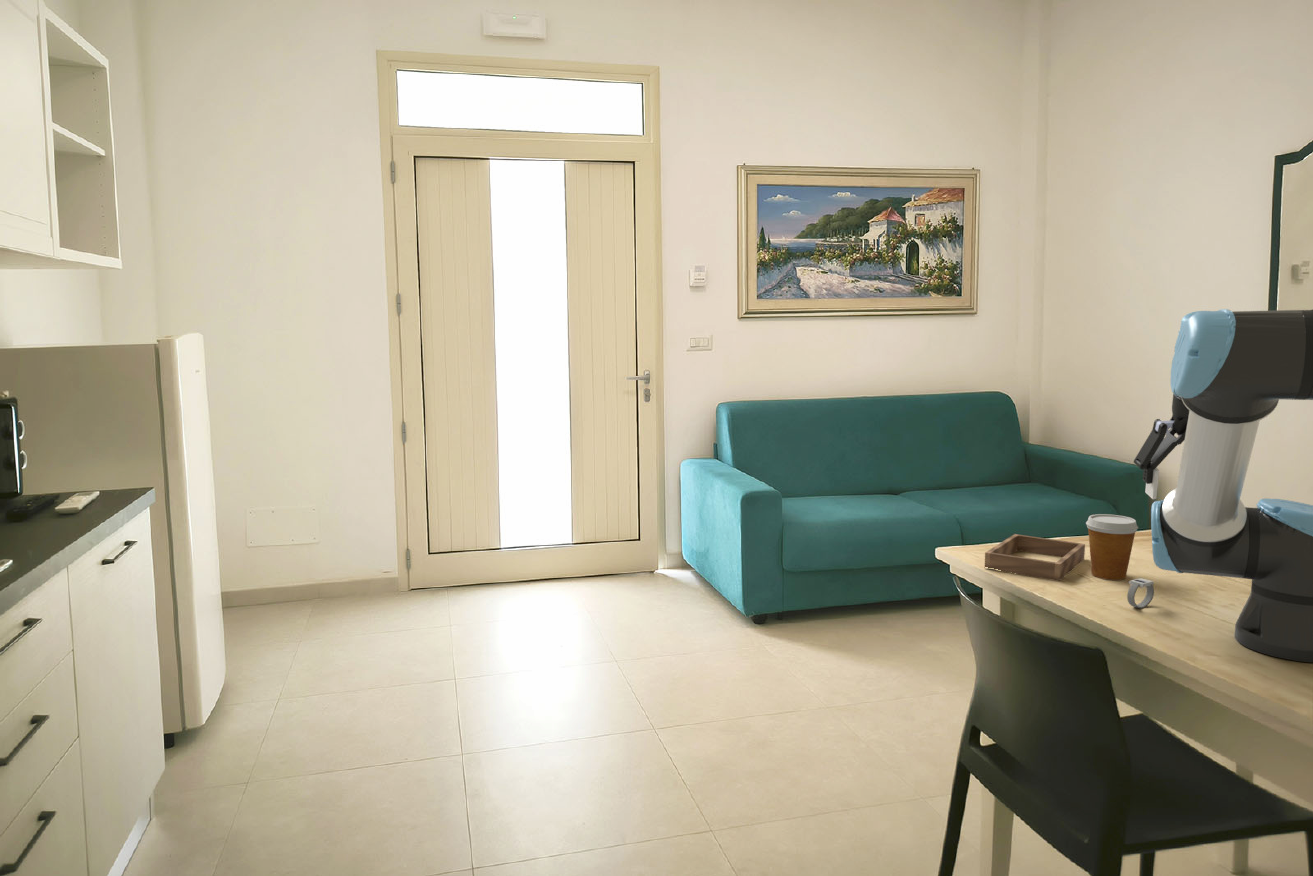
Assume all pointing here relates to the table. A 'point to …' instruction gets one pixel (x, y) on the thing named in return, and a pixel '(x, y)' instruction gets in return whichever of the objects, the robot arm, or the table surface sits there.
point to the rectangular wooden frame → (1055, 571)
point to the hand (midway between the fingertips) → (1185, 489)
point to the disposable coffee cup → (1110, 544)
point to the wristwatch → (1133, 588)
